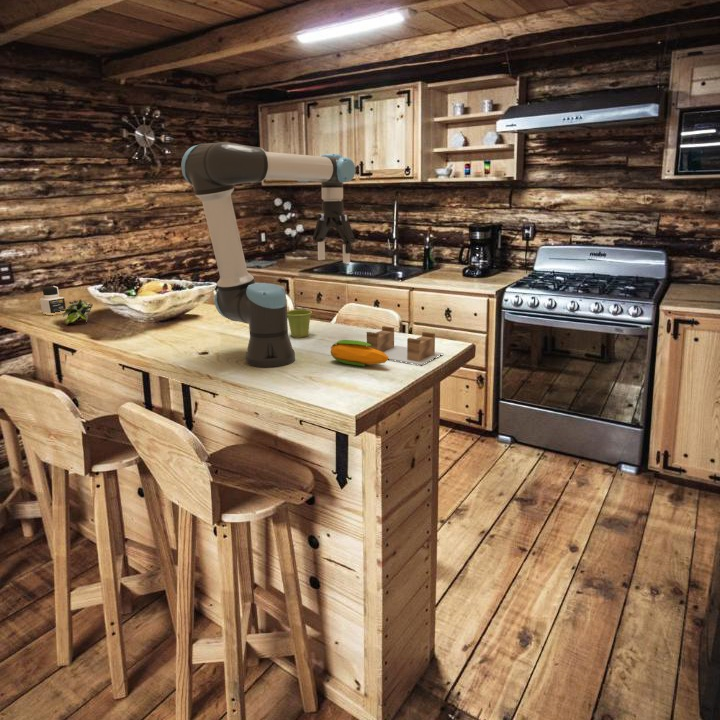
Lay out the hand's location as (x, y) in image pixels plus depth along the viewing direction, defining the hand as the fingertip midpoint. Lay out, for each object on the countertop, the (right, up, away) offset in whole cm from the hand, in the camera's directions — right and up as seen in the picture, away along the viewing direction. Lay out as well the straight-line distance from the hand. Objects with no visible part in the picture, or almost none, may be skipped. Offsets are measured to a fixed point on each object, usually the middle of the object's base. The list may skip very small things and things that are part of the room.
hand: (333, 261), depth 218 cm
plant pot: (-12, -27, 0) cm, 30 cm away
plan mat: (+22, -34, -27) cm, 49 cm away
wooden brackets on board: (+22, -34, -27) cm, 49 cm away
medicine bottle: (-124, -16, +45) cm, 133 cm away
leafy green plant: (-104, -21, +27) cm, 109 cm away
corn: (+10, -37, -36) cm, 52 cm away
